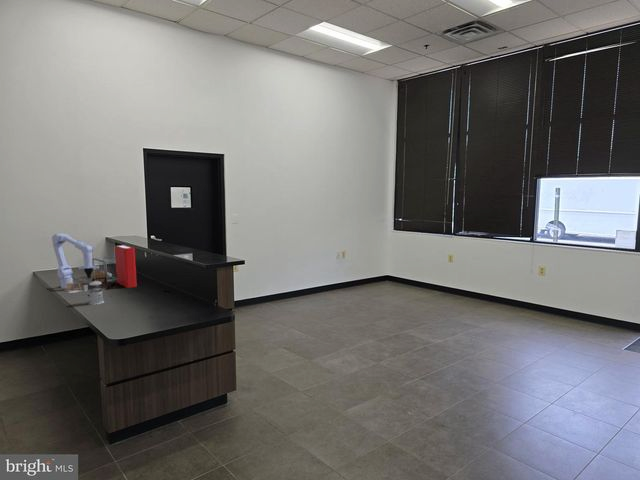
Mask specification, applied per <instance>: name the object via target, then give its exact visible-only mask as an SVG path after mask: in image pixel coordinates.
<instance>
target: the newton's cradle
mask: <svg viewBox="0 0 640 480" xmlns="http://www.w3.org/2000/svg"><path fill="white" fill-rule="evenodd" d="M95 261H97V262H98V263H99V265H100V266H99V268H101V269H100V271H102V270H103V274H104V269H105V272H106V280H107V282H110V281H112V280H114V281H117V277H113V274H112V273H111V272H110V271H108V270H109V268H110V267H111V265H112V264H110V266H109V264H108V263H111V262H116V258H115V259H114V258H110V257H106V256H102V258H99V257H96V258H94V257H92V265H93V266H95V263H94V262H95ZM107 265H108V266H107ZM94 270H95V269H93V272H94ZM101 274H102V272H101ZM108 278H109V279H108Z"/></svg>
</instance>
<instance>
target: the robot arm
mask: <svg viewBox="0 0 640 480" xmlns="http://www.w3.org/2000/svg"><path fill="white" fill-rule="evenodd" d="M51 241H52V247H53V251H54V255H55V256H56V260H57V264H58V268H57V269H56V270H57V276H58V278H59V280H60V288H61V289H67V287H66V284H68V283H73V284H74V279H73V277H72V276H73V273H74V272H73V270H72V268H71V266H70V265H69V264H68V263H67V260H66V257H65V253H64V250H63V244H65V242H67V243H70V244H71V245H74V247H75V248H76V249H77V250H80V251H81V253H82V256H83V265H82V266H78V270H83V271H84V273H85V274H86V276H87V278H88V279H92V271H93V268H96V269H95V270H98V269H99V268H100V266H99V265H94V266H93V265H92V259H93V255H92V253H93V251H94V247H93V246H92V245H90V244H89V245H88V244H87V243H84V242H83V241H82V240H78V241H77V240H76V239H74V238H73V237H71V236H70V235H69V234H67V233H66V232H63V233H56V234H53V236H52V237H51ZM99 270H100V269H99Z"/></svg>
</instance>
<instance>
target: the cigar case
mask: <svg viewBox="0 0 640 480" xmlns="http://www.w3.org/2000/svg"><path fill="white" fill-rule="evenodd" d="M101 270H102V271H101ZM103 271H104V274H103ZM101 272H102V274H101ZM91 280H92V281H91V282H94V281H99V282H101V283H102V284H107V282H108V281H107V280H106V270H105V269H104V268H103V269H99V270H98V269H96V270H95V274H94V272H93V271H92V274H91Z"/></svg>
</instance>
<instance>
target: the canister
mask: <svg viewBox="0 0 640 480" xmlns="http://www.w3.org/2000/svg"><path fill="white" fill-rule="evenodd" d="M66 287H67V288H66V289H67V290H66V291H74V290H73V288H74V282H73V283H68V284H66Z"/></svg>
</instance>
